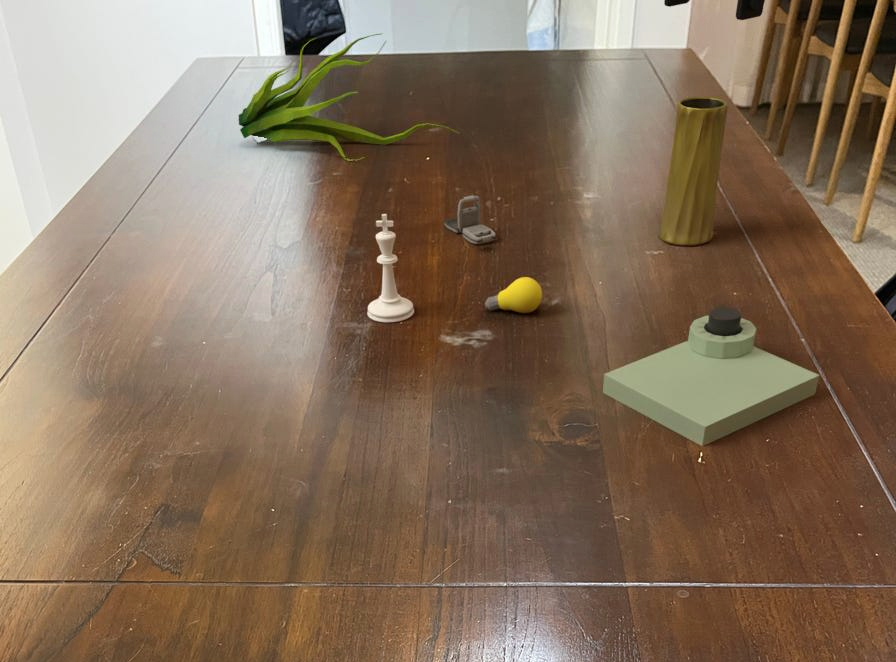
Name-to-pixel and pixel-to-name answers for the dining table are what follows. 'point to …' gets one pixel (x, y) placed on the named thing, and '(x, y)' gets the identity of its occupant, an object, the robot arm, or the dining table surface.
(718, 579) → the dining table surface
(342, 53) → the decorative plant
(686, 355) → the green mounting base
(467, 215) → the strap clip
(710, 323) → the button
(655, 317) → the dining table surface
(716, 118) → the vase
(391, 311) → the chess piece
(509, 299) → the light bulb
